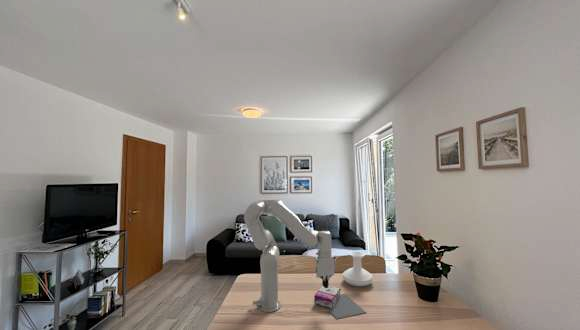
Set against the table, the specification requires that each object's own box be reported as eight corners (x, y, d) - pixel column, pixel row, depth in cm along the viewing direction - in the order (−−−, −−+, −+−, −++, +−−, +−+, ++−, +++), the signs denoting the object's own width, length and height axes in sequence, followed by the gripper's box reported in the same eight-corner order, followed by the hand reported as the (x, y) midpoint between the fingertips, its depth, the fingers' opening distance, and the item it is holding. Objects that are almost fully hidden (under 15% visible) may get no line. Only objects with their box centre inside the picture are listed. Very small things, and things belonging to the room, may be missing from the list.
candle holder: (340, 276, 179) (340, 249, 180) (368, 276, 178) (367, 250, 179) (345, 289, 159) (345, 259, 160) (376, 289, 158) (376, 259, 159)
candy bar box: (332, 309, 134) (340, 295, 149) (332, 300, 134) (340, 287, 149) (313, 304, 140) (323, 291, 154) (313, 295, 140) (323, 283, 154)
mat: (336, 319, 126) (336, 318, 126) (318, 298, 146) (318, 298, 146) (366, 313, 131) (366, 312, 131) (344, 294, 152) (344, 293, 152)
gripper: (315, 257, 131) (315, 292, 130) (339, 254, 136) (340, 287, 135) (310, 253, 138) (310, 286, 138) (333, 250, 143) (334, 282, 142)
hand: (325, 286), depth 136 cm, fingers closed
